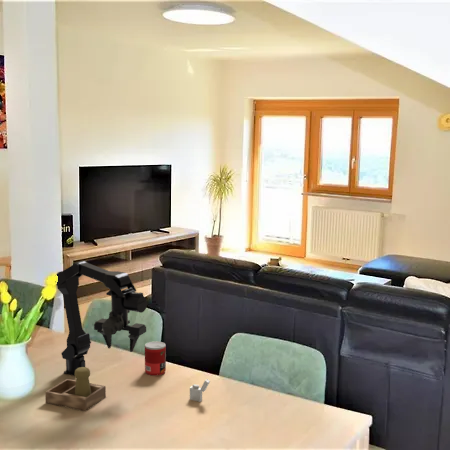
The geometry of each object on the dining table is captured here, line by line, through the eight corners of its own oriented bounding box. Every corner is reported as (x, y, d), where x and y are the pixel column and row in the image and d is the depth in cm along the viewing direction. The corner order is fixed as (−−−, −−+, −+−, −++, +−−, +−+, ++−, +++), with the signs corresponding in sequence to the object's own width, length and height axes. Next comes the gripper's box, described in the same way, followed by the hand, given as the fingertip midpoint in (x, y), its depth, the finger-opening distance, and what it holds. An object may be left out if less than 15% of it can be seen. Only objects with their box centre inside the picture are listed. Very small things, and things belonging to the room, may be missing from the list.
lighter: (189, 399, 211) (189, 377, 210) (191, 397, 213) (191, 375, 212) (207, 403, 208) (208, 381, 207) (210, 401, 210) (210, 379, 209)
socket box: (45, 402, 208) (45, 391, 207) (67, 389, 219) (67, 378, 218) (85, 411, 202) (85, 399, 201) (105, 397, 213) (105, 386, 212)
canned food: (164, 376, 231) (164, 348, 230) (143, 375, 231) (143, 347, 230) (166, 368, 239) (166, 341, 237) (146, 368, 239) (146, 340, 237)
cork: (87, 403, 205) (86, 372, 204) (70, 401, 207) (69, 370, 205) (95, 396, 211) (94, 365, 210) (78, 394, 213) (78, 364, 211)
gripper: (84, 311, 215) (85, 353, 218) (130, 317, 208) (131, 361, 211) (102, 303, 226) (103, 343, 228) (146, 308, 219) (147, 350, 221)
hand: (120, 349), depth 222 cm, fingers open, 9 cm apart
